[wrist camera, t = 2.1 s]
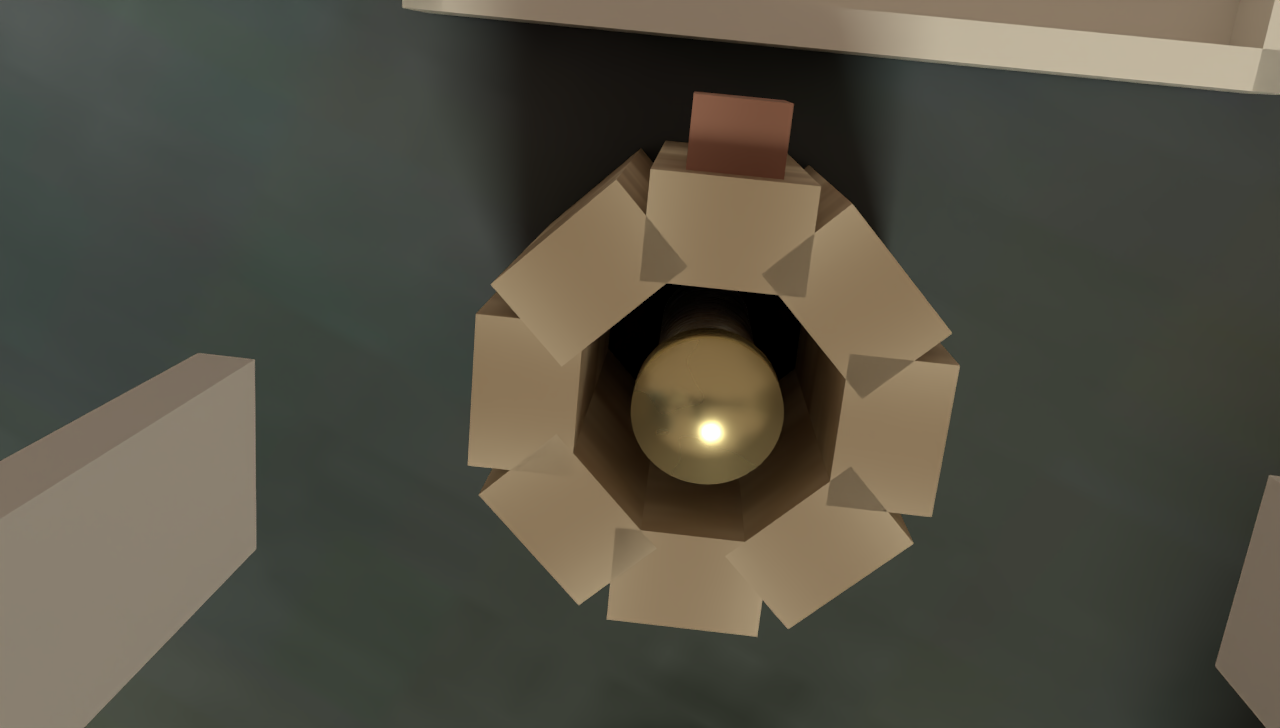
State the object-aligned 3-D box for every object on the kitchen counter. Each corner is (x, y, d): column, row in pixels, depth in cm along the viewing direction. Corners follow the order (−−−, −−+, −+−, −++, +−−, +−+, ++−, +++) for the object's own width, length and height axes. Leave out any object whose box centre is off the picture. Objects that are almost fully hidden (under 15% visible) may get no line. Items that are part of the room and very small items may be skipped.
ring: (524, 462, 25) (460, 602, 19) (551, 72, 23) (488, 74, 16) (851, 498, 25) (905, 654, 19) (915, 109, 23) (1004, 125, 16)
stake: (644, 368, 25) (624, 475, 18) (655, 260, 24) (638, 331, 17) (754, 380, 25) (773, 492, 18) (768, 272, 24) (793, 347, 17)
